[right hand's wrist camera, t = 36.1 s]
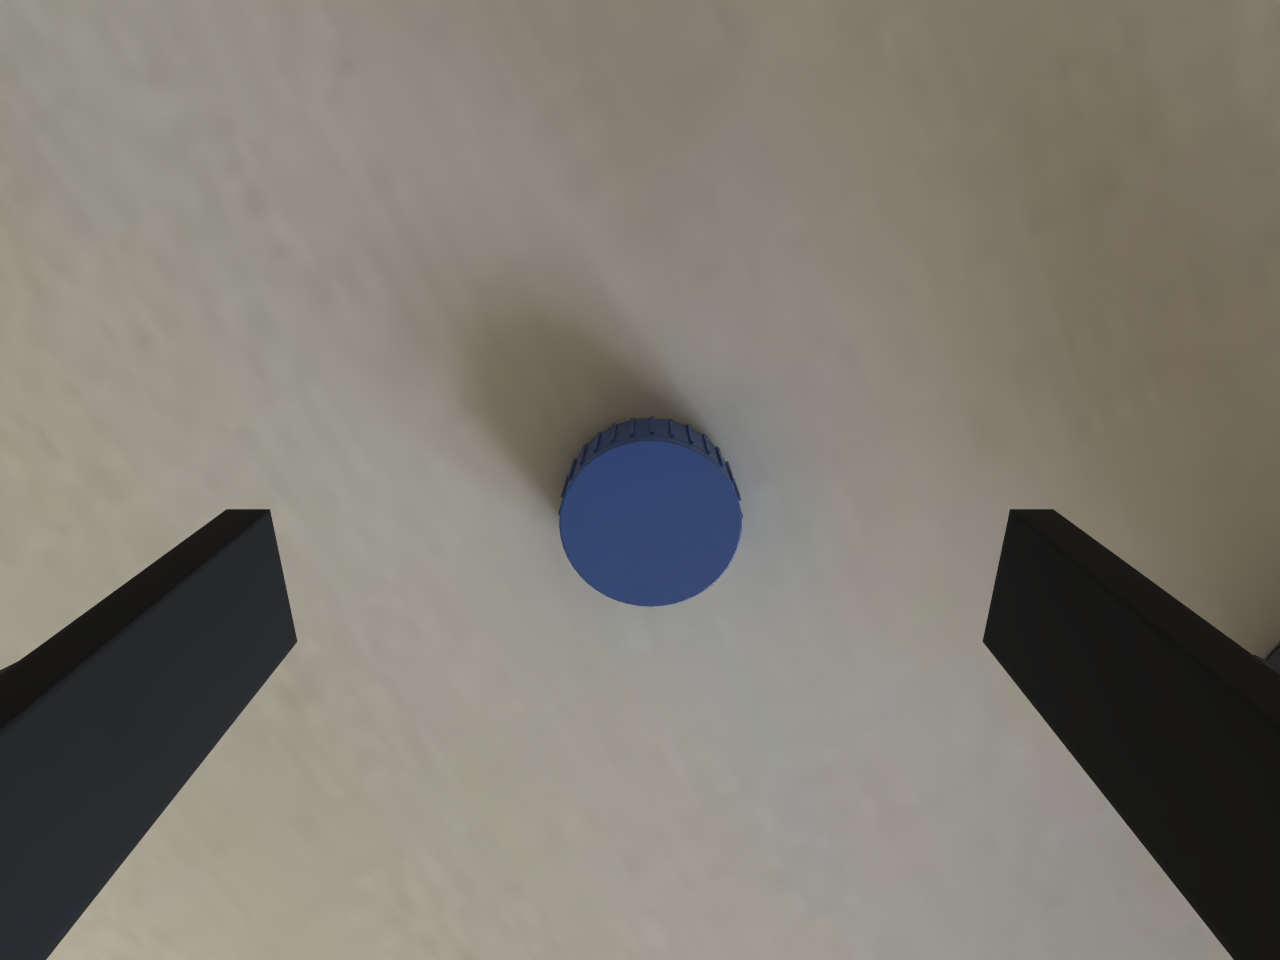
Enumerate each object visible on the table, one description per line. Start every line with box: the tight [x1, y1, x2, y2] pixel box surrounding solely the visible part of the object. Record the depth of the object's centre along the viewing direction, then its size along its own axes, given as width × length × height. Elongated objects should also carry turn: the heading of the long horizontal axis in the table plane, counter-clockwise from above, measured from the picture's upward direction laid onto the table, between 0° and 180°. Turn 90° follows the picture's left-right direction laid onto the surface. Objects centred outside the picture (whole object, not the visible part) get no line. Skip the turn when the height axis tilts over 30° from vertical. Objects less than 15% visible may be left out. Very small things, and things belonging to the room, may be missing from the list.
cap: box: [559, 417, 743, 606], centre depth 16 cm, size 4×4×2 cm
